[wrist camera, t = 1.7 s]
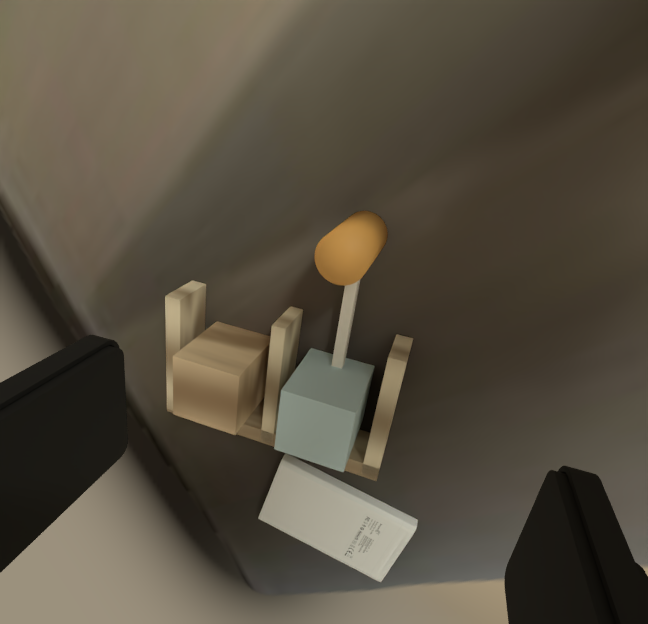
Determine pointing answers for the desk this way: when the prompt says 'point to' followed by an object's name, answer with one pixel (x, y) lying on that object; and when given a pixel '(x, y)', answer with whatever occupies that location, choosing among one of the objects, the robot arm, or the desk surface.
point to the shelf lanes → (286, 375)
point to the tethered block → (332, 357)
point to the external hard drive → (336, 518)
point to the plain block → (221, 377)
